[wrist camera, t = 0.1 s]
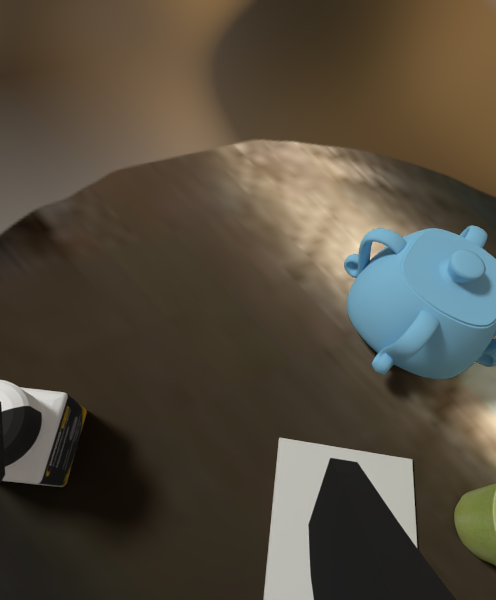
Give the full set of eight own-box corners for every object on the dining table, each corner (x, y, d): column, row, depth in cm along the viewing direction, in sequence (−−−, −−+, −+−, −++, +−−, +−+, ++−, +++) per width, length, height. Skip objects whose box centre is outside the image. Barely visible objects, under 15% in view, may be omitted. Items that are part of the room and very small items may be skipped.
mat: (421, 660, 33) (423, 661, 33) (259, 636, 33) (260, 637, 32) (410, 459, 41) (412, 459, 40) (279, 438, 40) (279, 437, 40)
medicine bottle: (66, 487, 36) (11, 481, 26) (-13, 479, 36) (-102, 469, 25) (88, 409, 39) (48, 375, 29) (16, 401, 39) (-52, 363, 28)
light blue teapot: (346, 385, 44) (402, 342, 32) (331, 263, 51) (372, 191, 39) (481, 388, 45) (583, 348, 33) (448, 270, 53) (522, 202, 41)
